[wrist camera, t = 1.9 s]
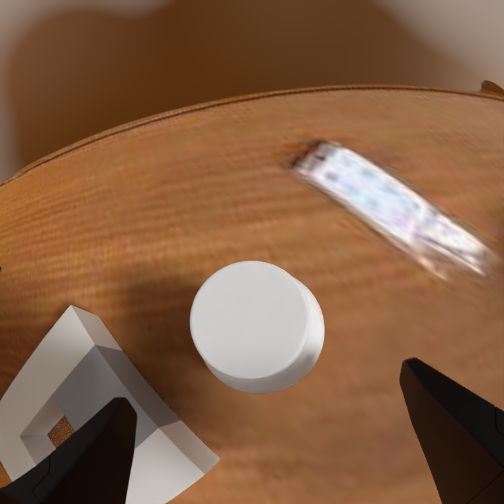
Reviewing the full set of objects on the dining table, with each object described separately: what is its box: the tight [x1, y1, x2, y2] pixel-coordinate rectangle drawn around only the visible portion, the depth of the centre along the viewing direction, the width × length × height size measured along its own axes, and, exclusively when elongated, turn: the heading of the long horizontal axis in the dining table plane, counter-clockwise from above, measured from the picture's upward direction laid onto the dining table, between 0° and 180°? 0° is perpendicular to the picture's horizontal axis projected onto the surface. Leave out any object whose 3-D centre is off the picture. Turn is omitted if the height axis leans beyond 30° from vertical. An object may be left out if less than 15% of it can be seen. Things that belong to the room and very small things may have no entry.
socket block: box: [0, 305, 220, 504], centre depth 14 cm, size 14×18×4 cm
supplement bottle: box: [190, 261, 324, 394], centre depth 14 cm, size 5×5×10 cm
